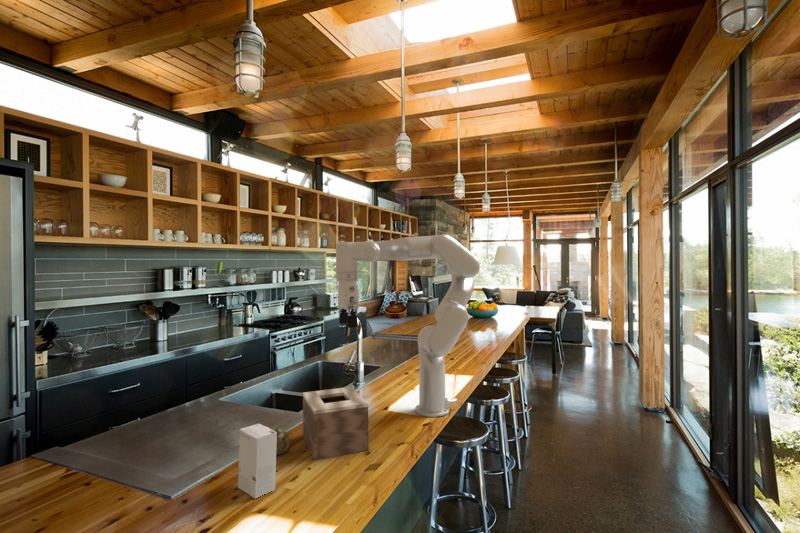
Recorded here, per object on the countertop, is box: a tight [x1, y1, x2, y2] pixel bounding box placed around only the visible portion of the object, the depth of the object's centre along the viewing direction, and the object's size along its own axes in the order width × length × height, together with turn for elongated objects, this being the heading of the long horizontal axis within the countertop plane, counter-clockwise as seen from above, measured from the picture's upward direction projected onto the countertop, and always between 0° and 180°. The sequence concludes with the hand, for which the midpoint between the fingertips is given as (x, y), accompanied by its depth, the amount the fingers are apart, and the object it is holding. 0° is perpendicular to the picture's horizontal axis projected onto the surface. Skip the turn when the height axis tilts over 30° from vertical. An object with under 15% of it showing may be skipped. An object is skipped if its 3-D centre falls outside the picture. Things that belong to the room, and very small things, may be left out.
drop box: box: [302, 386, 370, 461], centre depth 134 cm, size 16×18×14 cm
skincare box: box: [237, 423, 277, 500], centre depth 108 cm, size 8×6×15 cm
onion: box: [272, 426, 291, 456], centre depth 128 cm, size 8×8×8 cm
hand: (348, 325), depth 155 cm, fingers open, 9 cm apart
